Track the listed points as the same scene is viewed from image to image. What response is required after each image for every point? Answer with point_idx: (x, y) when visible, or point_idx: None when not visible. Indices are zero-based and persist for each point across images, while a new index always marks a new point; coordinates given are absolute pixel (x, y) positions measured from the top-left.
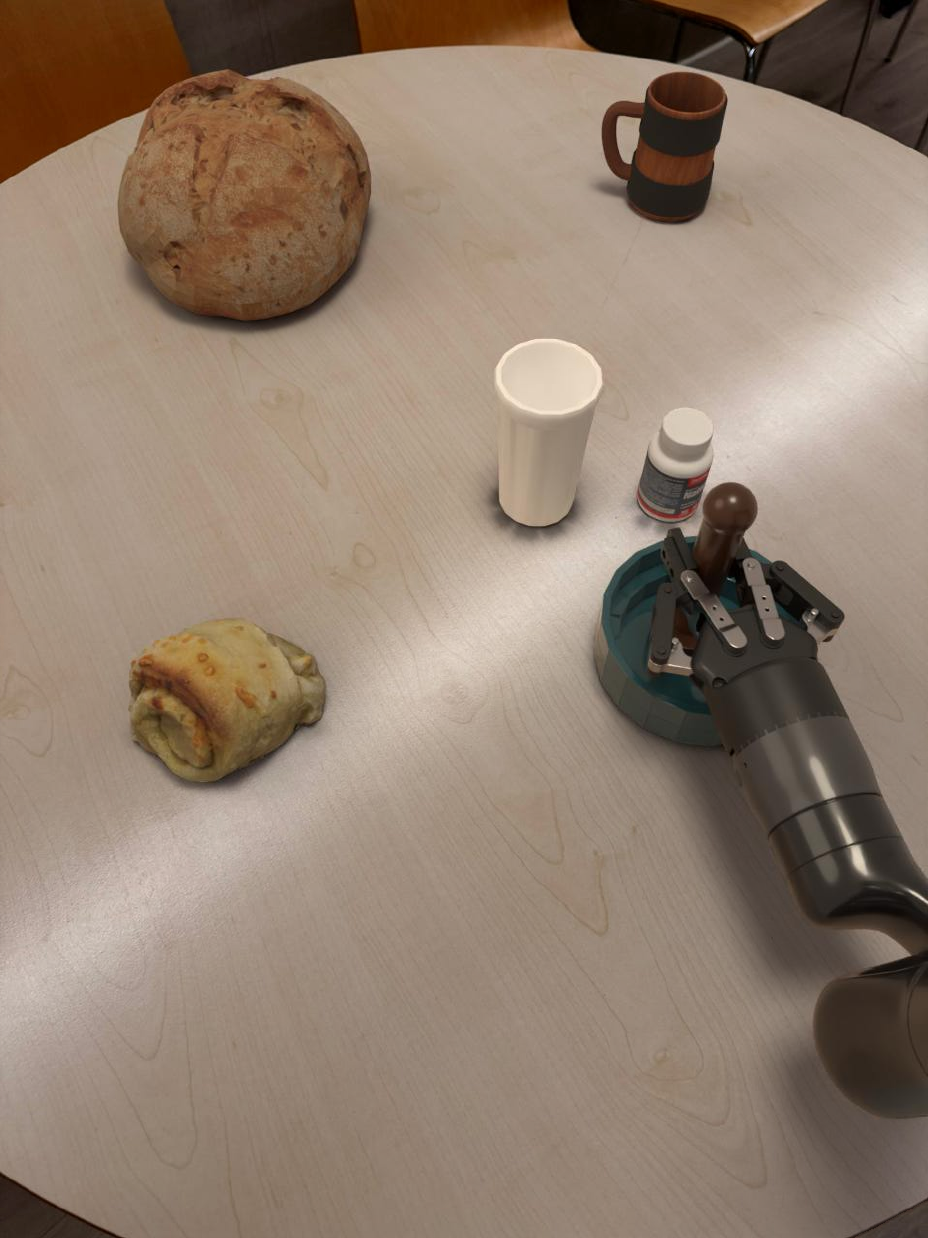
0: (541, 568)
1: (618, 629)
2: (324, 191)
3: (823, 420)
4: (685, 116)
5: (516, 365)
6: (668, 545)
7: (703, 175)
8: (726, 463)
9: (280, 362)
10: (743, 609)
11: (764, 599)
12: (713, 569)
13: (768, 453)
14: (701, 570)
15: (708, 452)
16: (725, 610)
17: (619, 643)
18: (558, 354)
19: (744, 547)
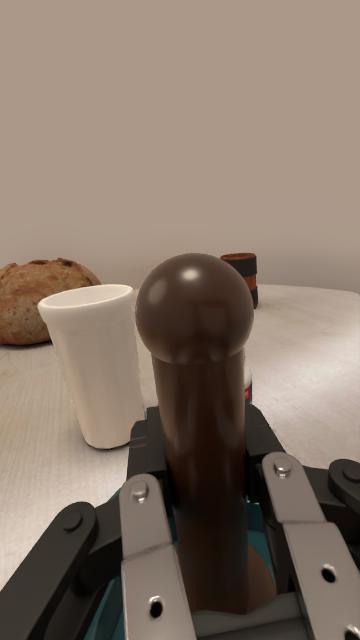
0: (87, 491)
1: (104, 599)
2: (66, 287)
3: (348, 378)
4: (236, 258)
5: (79, 302)
6: (137, 431)
7: (251, 288)
8: (275, 404)
9: (20, 359)
10: (267, 617)
11: (331, 579)
12: (194, 473)
13: (309, 397)
14: (176, 477)
15: (244, 372)
16: (191, 625)
17: (92, 635)
18: (112, 294)
19: (268, 436)
